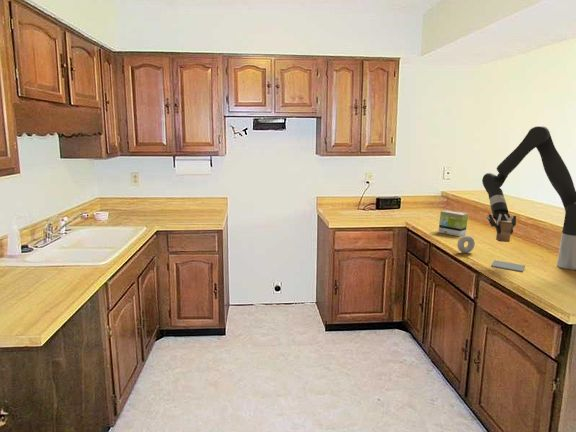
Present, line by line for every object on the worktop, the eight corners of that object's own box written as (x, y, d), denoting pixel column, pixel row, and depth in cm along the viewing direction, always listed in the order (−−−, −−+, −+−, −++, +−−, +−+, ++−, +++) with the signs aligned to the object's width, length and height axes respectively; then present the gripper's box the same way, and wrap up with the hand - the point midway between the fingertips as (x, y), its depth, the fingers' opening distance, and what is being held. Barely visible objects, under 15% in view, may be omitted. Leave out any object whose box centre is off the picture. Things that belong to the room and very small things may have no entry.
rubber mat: (524, 266, 218) (525, 265, 217) (522, 272, 208) (522, 270, 208) (494, 261, 225) (494, 260, 225) (490, 266, 215) (490, 265, 215)
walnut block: (495, 239, 221) (498, 220, 219) (505, 240, 220) (508, 220, 218) (499, 241, 217) (501, 221, 215) (509, 242, 216) (512, 222, 215)
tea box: (437, 232, 291) (440, 211, 289) (444, 230, 299) (446, 209, 296) (460, 236, 281) (462, 214, 279) (466, 234, 289) (468, 212, 286)
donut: (471, 252, 242) (473, 234, 241) (475, 253, 239) (477, 236, 237) (455, 252, 240) (457, 234, 239) (458, 254, 237) (460, 236, 235)
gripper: (487, 200, 223) (493, 228, 213) (515, 202, 222) (523, 230, 212) (481, 209, 229) (488, 236, 219) (509, 210, 228) (517, 238, 219)
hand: (505, 233), depth 216 cm, fingers closed on walnut block, 5 cm apart
